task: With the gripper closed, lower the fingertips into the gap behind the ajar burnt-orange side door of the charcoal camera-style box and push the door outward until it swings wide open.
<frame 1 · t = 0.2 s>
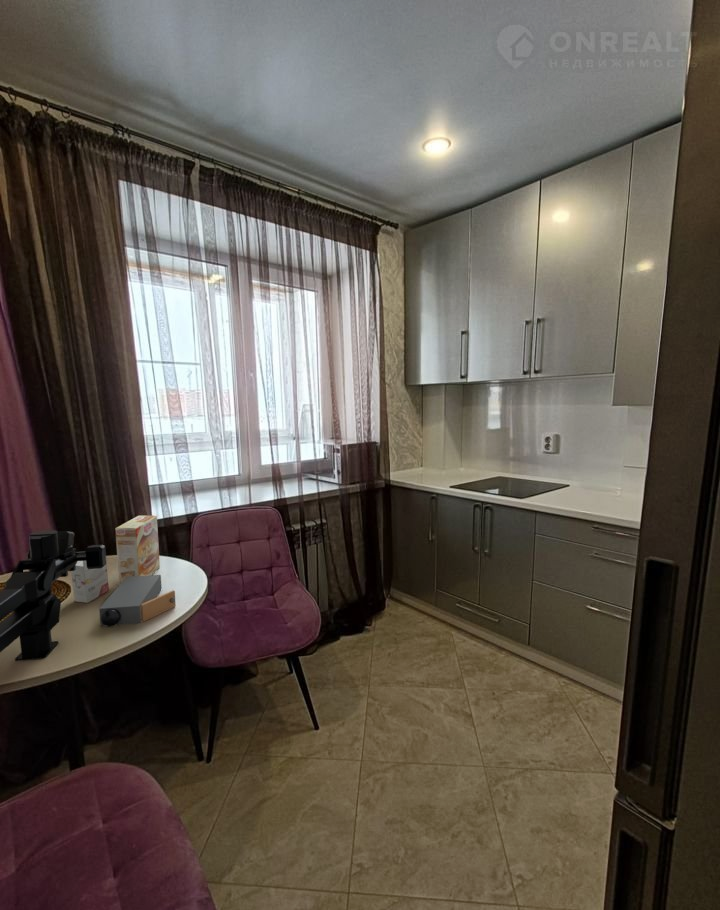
hand: (82, 548, 123), 17 cm above the table, tool horizontal, fingers open, 9 cm apart
side door: (159, 605, 118), point 3 cm above the table, hinge at 40.0°
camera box: (133, 606, 123), on the table
ink cartridge box: (92, 596, 129), on the table
coffeecake box: (140, 576, 143), on the table
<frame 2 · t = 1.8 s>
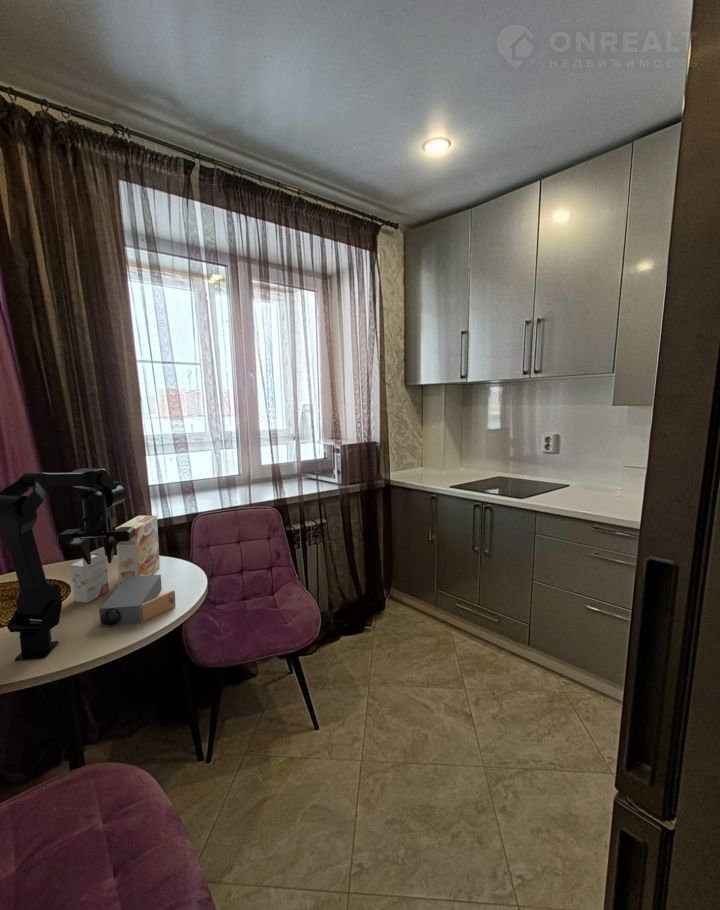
hand: (99, 563, 121), 13 cm above the table, tool pointing down, fingers open, 5 cm apart
nothing on the table moved.
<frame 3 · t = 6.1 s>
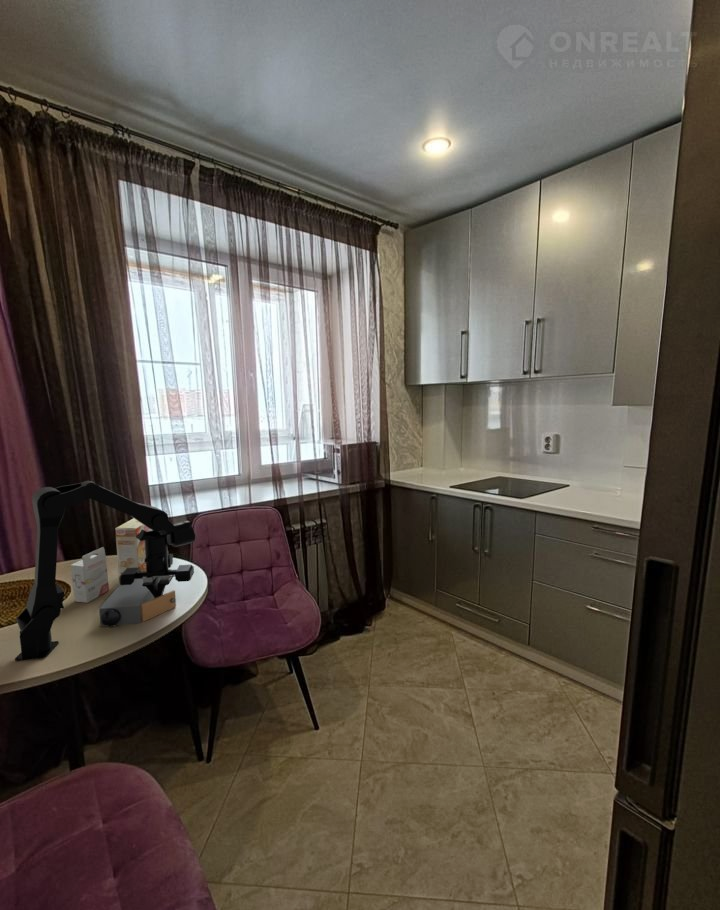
hand: (159, 602, 121), 2 cm above the table, tool pointing down, fingers closed
side door: (159, 605, 118), point 3 cm above the table, hinge at 41.3°, touching gripper
everything else where it was.
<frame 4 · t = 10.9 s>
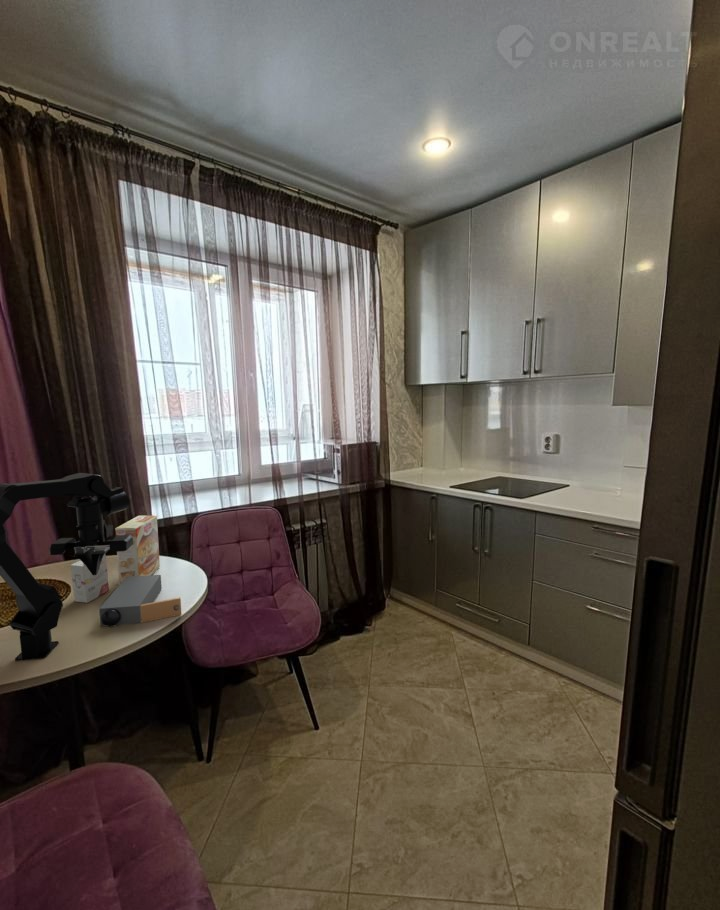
hand: (95, 574, 114), 13 cm above the table, tool pointing down, fingers closed
side door: (161, 610, 116), point 3 cm above the table, hinge at 73.6°
everything else where it was.
at the end: side door at +74° (first picture: +40°) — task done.
